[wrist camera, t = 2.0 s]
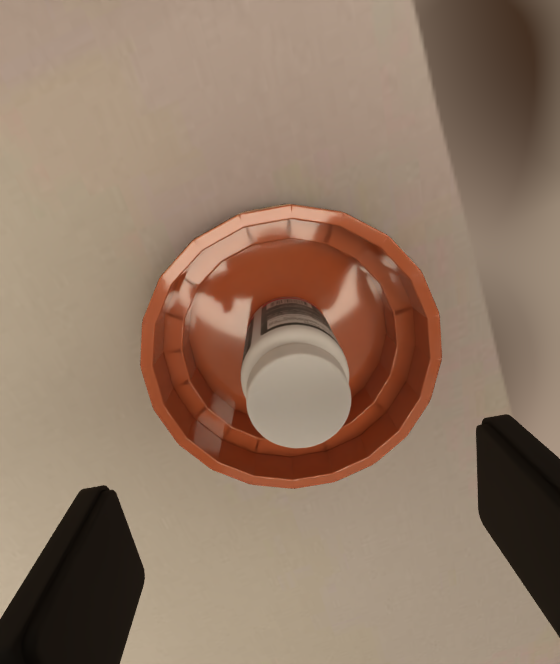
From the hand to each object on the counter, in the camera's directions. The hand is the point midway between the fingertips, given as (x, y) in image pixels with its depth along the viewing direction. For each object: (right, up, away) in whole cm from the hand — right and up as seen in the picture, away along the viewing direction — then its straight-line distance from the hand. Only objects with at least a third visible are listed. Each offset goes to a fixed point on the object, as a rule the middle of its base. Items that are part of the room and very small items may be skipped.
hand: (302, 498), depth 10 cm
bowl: (0, +4, +13) cm, 14 cm away
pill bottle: (0, +4, +13) cm, 14 cm away
